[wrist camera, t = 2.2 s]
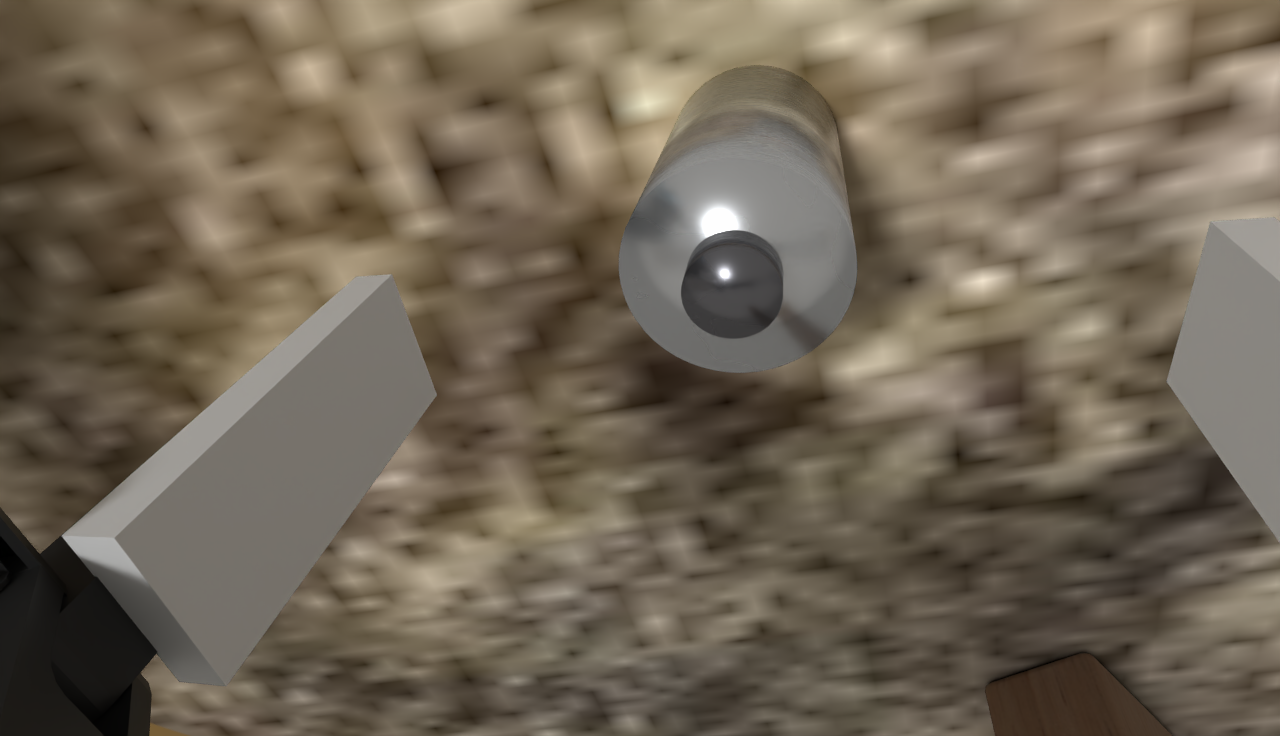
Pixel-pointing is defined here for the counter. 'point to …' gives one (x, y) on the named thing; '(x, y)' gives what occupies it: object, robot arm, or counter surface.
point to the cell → (743, 227)
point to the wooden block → (1067, 703)
